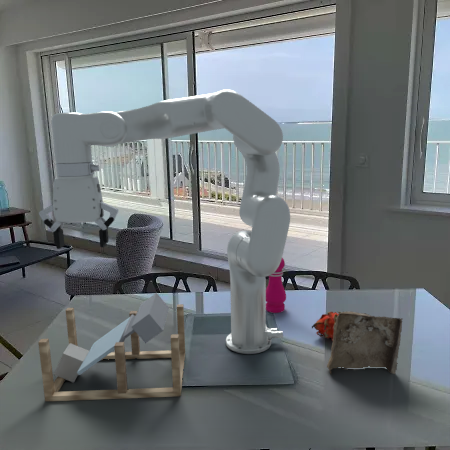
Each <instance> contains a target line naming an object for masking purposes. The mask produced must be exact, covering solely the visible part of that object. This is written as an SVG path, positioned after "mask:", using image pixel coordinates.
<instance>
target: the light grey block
mask: <svg viewBox="0 0 450 450" xmlns="http://www.w3.org/2000/svg"><path fill="white" fill-rule="evenodd" d="M89 351H90V349H89V350H88V349H86V348H83V347H81V346H76V345H74V344H71V343H70V344H69V343H68V345H67V347H66V348H65V350H64V351H63V352H62V354H61V357H60V359H59V361H58V363H57V367H56V368H55V371H54V372H53V376H56V377H61V378H63V379H66V380H65V381H69V382H70V383H75V381H76V380H77V378H78V376H79V375H78V373H77V372H78V370H79V368H80V366H81V365H82V363H83V361H84V359H85V358H86V356H87V354H88V352H89Z"/></svg>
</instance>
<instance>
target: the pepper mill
mask: <svg viewBox="0 0 450 450" xmlns="http://www.w3.org/2000/svg"><path fill="white" fill-rule="evenodd" d="M285 265H286V263H285V259H284V257H282V259H281V262H280V265H279V267H278V268H277V270H276V271H275V272H274V273H273V274H271V275H269V276H268V284H267V285H266V312H268V313H271V314H278V313H283V312H285V309H286V308H285V307H286V305H285V302H286V300H287V294H286V290H285V287H284V285H283V281H282V279H283V278H282V276H283V275H284V270H283V269H284V268H285Z"/></svg>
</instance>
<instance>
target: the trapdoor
mask: <svg viewBox="0 0 450 450" xmlns="http://www.w3.org/2000/svg"><path fill="white" fill-rule="evenodd" d="M169 310H170V307H169V306H168V304H166V302H165V301H164V300H163V298H162V297H161V296H160V295H159V294H158V292H155V293H154V294H153V295H151V296H150V297H148V298H147V299H146V300H144V301H143V302H141V304H139V308H138V310H137V314H136V315H135V316H134V315H133V314H132V315H131V316H130V317H129V316H128V318H126V319H125V320H124V321H122V322H121V323H119V324H118V325H116V326H115V327H114V328H112V329H111V330H110V331H107V333H106V334H104V335H103V336H102V337H99V339H97V340H96V341H94V343H93V344H92V345H91V348H90V349H89V352H88V354H87V356H86V358H85V359H84V361H83V363H82V365H81V366H80V368H79V370H78V372H77V373H78V376H80V375H82V374H83V373H85V372H86V371H87V370H89V369H90V368H91V367H93V366H95V365H96V364H98V362H100V361H102V360H101V359H103V358H104V357H105V356H107V355H108V354H110V353H111V352H113V351H114V352H115V350H114V345H115V343H116V342H124V343H125V340H126V339H127V338H128V337H129V336H130V337H131V334H132V333H134V332H136V333H137V334H138V335H139V339H141V340H142V342H143V343H144V344H145V345H146V344H147V343H149V342H150V341H151V340H153V339H154V338H155V337H157V336H158V335H160V334H161V333H162V332H164V330H165V329H164V328H165V325H166V321H167V318H168V313H169Z"/></svg>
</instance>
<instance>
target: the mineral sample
mask: <svg viewBox="0 0 450 450" xmlns="http://www.w3.org/2000/svg"><path fill="white" fill-rule="evenodd" d="M338 314H339V313H338ZM403 319H404V318H401V317H400V318H399V317H388V316H375V315H370V313H369V314H368V313H364V312H357V311H349V310H348V311H341V313H340V314H339V315H338V316H337V318H336V323H335V326H334V333H333V342H332V343H331V352H330V356H329V359H328V362H327V364H326V368H327V369H328V370H329V374H330V375H332V370H333V369H338V368H337V367H341V368H342V367H344V368H363V367H368V366H370V367H386V368H387V369H388V370H389V371H388V370H387V371H388V373H390V374H393V375H396V371H398V368H397V367H398V364H399V363H398V359H399V350H400V346H401V335H402V334H401V333H402V328H403Z"/></svg>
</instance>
